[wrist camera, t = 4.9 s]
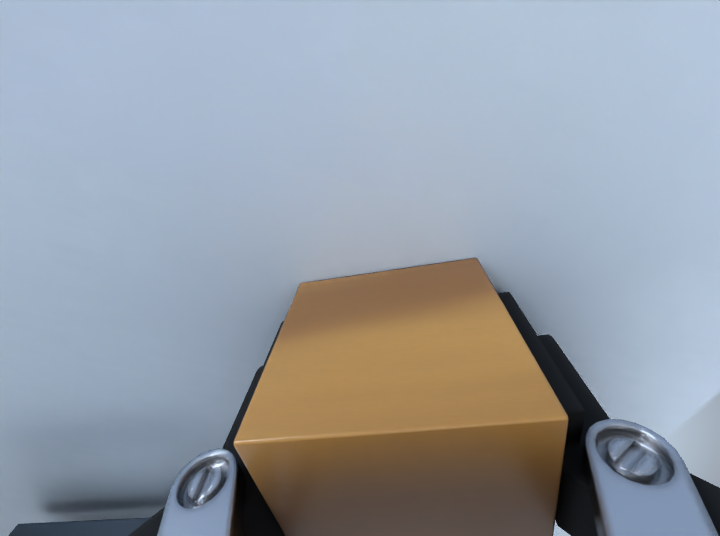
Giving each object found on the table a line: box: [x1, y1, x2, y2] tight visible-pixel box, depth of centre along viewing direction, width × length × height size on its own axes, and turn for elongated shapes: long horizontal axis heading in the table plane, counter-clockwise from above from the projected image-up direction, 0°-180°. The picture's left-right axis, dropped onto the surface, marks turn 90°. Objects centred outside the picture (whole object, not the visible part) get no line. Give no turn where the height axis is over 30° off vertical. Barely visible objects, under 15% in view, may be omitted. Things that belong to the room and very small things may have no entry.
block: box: [234, 258, 568, 536], centre depth 8 cm, size 5×5×5 cm
